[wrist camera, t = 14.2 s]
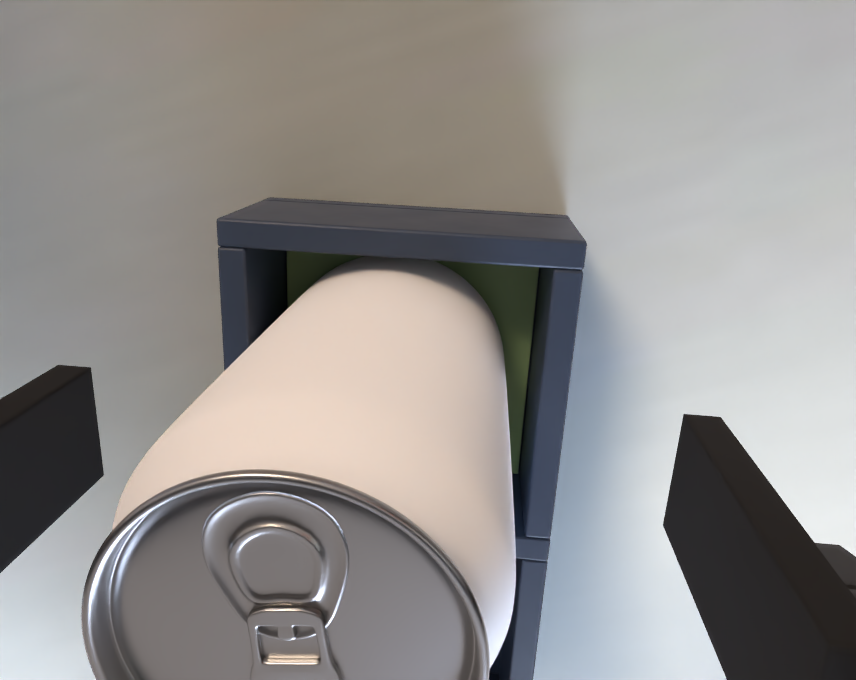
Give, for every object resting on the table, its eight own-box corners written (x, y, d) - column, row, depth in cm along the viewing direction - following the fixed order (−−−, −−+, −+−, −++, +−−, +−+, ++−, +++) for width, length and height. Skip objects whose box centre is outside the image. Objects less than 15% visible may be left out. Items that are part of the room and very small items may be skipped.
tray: (268, 197, 20) (215, 218, 16) (568, 214, 20) (587, 241, 16) (281, 652, 26) (243, 748, 22) (515, 677, 25) (520, 780, 21)
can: (499, 241, 19) (512, 433, 8) (509, 447, 21) (531, 837, 10) (276, 255, 20) (-9, 450, 8) (306, 454, 22) (108, 825, 11)
